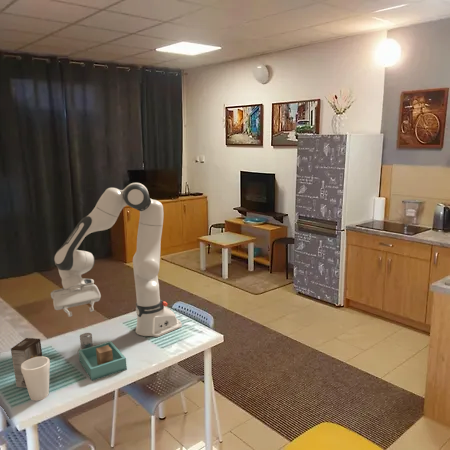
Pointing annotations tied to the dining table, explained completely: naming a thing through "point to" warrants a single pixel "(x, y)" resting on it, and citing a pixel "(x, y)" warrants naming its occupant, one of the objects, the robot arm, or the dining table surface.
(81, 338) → the grey cylinder
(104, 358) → the walnut block
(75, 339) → the dining table surface
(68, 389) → the dining table surface
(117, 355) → the tote
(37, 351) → the coffee box
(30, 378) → the foam cup
